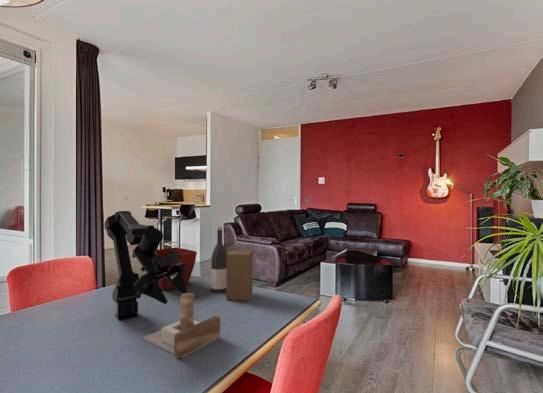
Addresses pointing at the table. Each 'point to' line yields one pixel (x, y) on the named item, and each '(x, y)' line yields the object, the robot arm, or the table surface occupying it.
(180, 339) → the rail base
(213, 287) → the wine bottle
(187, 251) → the plant pot
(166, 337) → the socket block
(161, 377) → the table surface
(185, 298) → the dowel
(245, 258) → the wooden block
